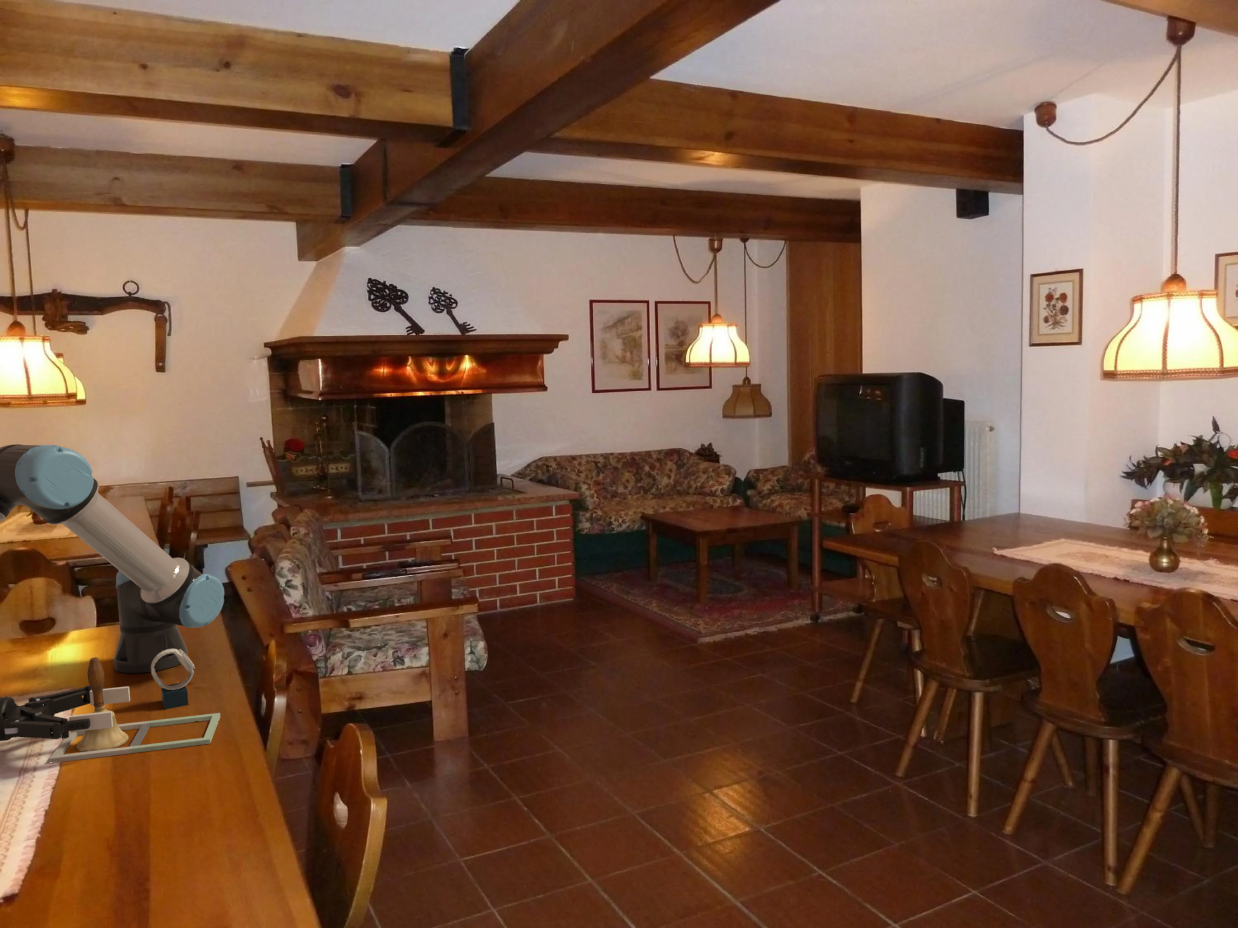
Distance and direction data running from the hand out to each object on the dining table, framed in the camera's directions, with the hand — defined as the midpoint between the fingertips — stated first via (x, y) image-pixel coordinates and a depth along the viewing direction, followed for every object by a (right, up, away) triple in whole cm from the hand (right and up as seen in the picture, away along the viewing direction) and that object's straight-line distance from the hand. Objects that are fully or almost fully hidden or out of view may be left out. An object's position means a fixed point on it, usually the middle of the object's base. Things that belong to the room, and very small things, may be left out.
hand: (121, 705), depth 169 cm
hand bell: (-3, -7, 0) cm, 8 cm away
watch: (+1, -5, +19) cm, 20 cm away
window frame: (+3, -6, +1) cm, 7 cm away
